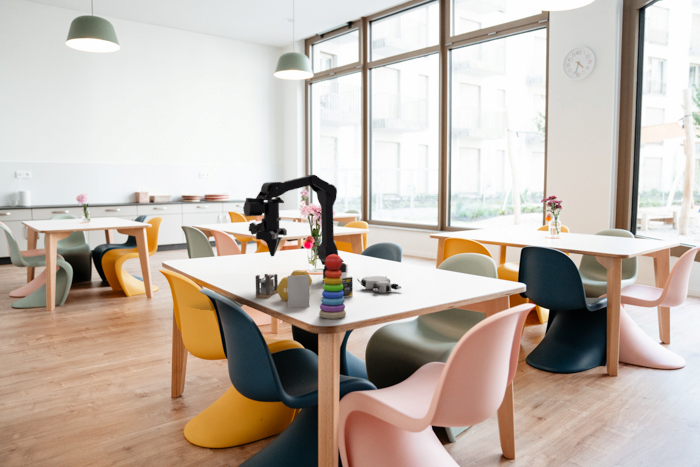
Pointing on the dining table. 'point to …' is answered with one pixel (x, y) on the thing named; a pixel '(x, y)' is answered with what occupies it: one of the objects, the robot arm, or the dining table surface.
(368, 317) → the dining table surface
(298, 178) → the robot arm
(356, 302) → the dining table surface
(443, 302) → the dining table surface
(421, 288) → the dining table surface
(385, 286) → the robot toy
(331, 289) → the stacking toy
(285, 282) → the dumbbell
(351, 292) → the medicine bottle
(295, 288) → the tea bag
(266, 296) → the grey and tan frame
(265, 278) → the grey bar
